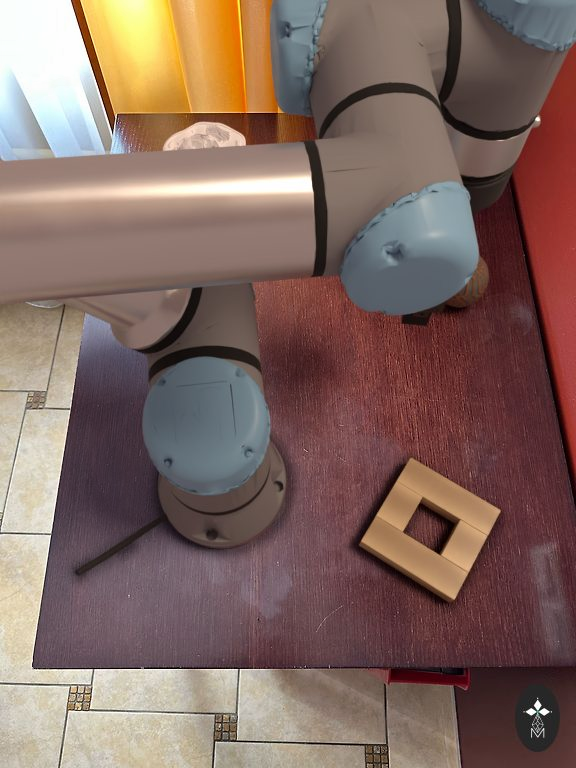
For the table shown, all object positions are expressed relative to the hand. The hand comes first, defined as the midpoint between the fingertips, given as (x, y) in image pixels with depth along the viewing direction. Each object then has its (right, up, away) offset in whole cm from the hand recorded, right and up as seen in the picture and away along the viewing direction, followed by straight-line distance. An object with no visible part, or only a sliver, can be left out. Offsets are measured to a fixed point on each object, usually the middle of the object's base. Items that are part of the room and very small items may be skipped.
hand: (414, 301), depth 75 cm
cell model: (-26, +23, +28) cm, 44 cm away
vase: (+9, +3, +20) cm, 22 cm away
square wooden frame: (+3, -26, +6) cm, 27 cm away
